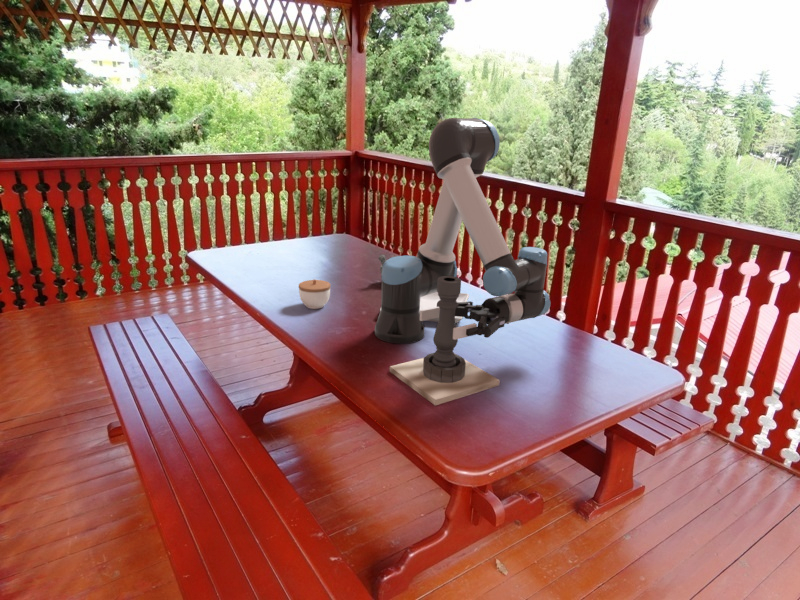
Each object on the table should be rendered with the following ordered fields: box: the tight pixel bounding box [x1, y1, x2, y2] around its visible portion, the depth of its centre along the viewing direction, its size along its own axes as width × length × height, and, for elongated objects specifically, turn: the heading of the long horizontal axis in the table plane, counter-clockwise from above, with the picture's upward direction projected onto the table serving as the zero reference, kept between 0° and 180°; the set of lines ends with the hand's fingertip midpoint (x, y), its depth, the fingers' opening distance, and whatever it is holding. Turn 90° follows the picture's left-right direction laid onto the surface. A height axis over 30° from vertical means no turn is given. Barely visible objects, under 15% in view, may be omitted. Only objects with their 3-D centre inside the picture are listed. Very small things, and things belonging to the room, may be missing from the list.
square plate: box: [379, 292, 470, 324], centre depth 187 cm, size 27×27×4 cm
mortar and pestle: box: [377, 254, 388, 275], centre depth 213 cm, size 11×9×12 cm
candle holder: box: [432, 276, 462, 368], centre depth 135 cm, size 6×6×25 cm
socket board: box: [389, 352, 500, 407], centre depth 139 cm, size 20×20×5 cm
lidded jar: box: [298, 279, 332, 310], centre depth 186 cm, size 11×11×9 cm
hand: (436, 324), depth 133 cm, fingers open, 13 cm apart
